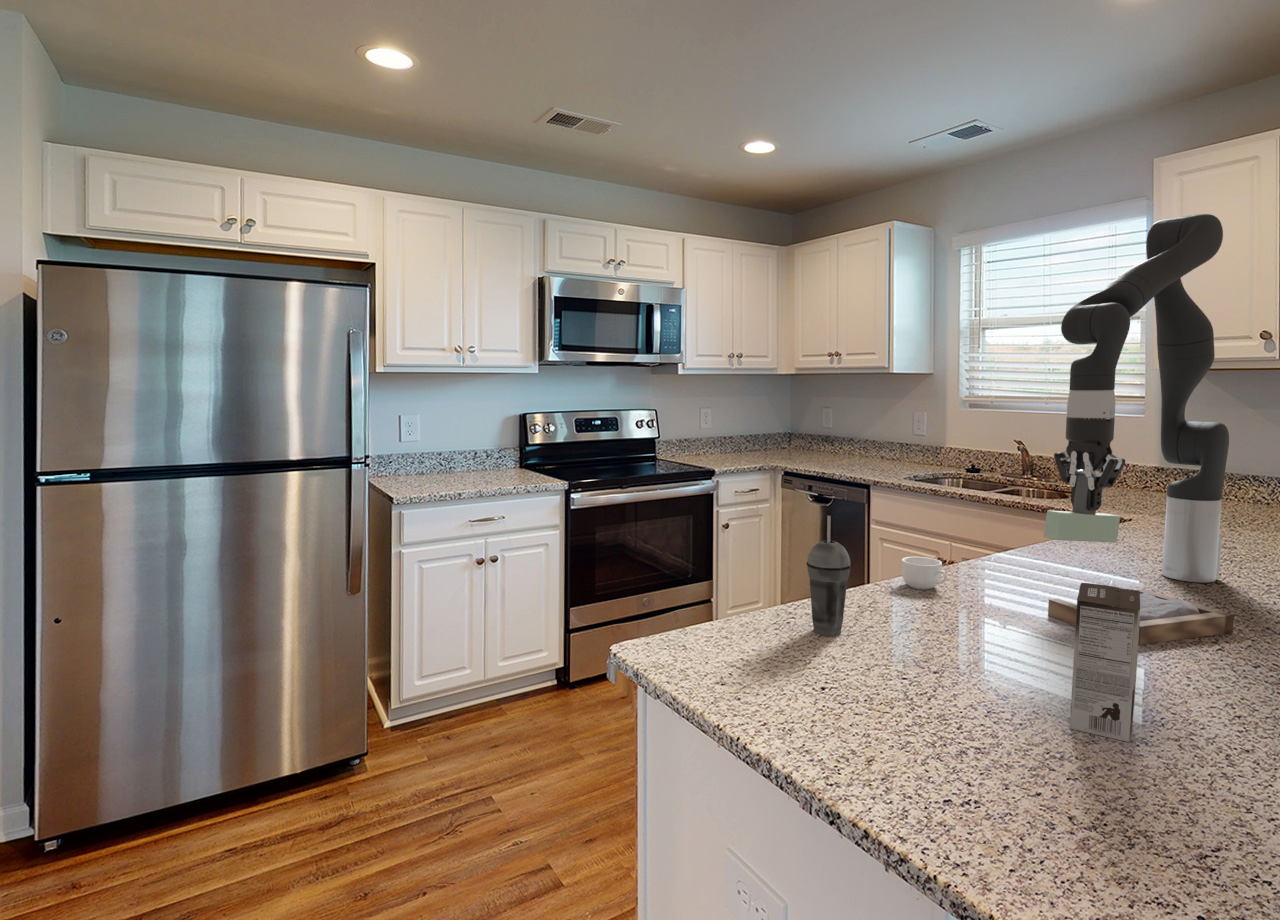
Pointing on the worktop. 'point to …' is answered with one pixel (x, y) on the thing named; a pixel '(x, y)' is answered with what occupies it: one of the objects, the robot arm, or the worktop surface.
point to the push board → (1081, 520)
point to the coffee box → (1105, 661)
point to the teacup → (922, 572)
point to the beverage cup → (828, 584)
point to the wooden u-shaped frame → (1161, 621)
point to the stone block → (1163, 608)
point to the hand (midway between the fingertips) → (1085, 508)
